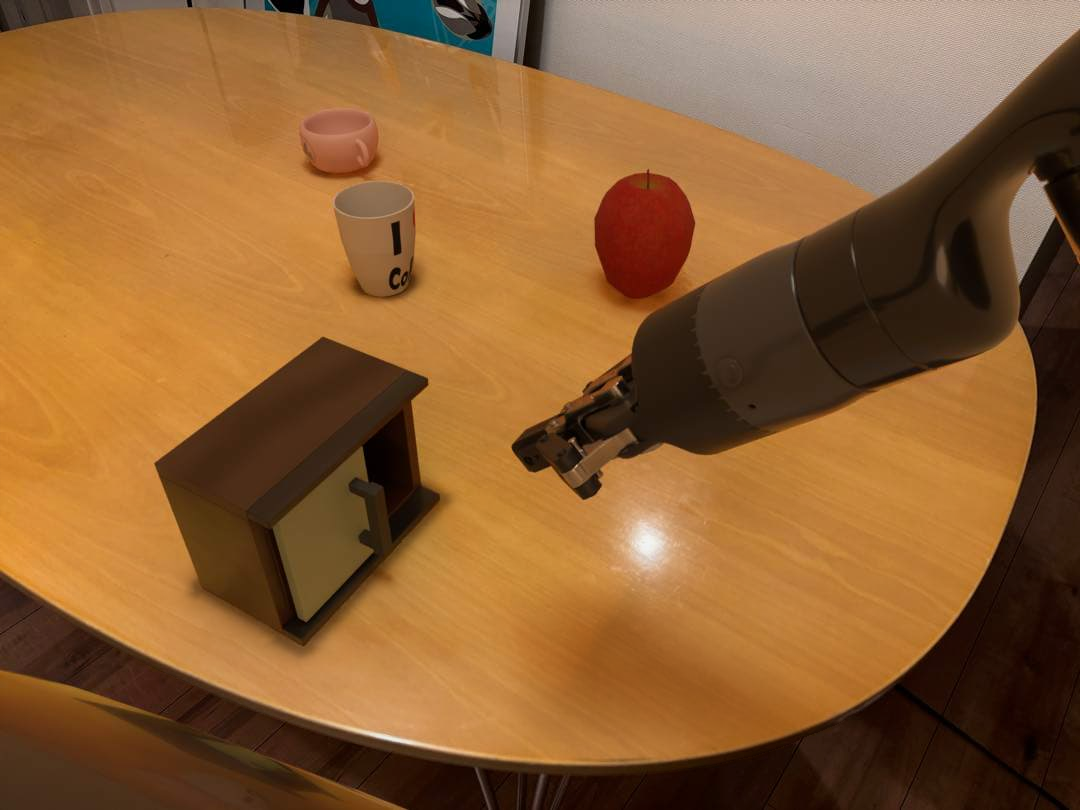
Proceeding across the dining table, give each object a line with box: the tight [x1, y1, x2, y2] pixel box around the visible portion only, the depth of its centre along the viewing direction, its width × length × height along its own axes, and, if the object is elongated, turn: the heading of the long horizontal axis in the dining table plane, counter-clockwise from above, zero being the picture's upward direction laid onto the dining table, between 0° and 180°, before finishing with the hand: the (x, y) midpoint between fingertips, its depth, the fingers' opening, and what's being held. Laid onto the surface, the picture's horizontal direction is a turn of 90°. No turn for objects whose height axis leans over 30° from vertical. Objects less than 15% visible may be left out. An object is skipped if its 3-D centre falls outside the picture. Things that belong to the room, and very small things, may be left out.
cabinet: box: [153, 336, 441, 646], centre depth 63 cm, size 10×16×12 cm, turn 149°
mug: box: [298, 107, 379, 174], centre depth 115 cm, size 12×10×6 cm
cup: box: [332, 180, 417, 298], centre depth 92 cm, size 8×8×10 cm
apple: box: [593, 168, 696, 300], centre depth 90 cm, size 10×10×14 cm
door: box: [273, 446, 394, 622], centre depth 60 cm, size 3×8×10 cm, turn 149°
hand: (526, 452), depth 52 cm, fingers closed
